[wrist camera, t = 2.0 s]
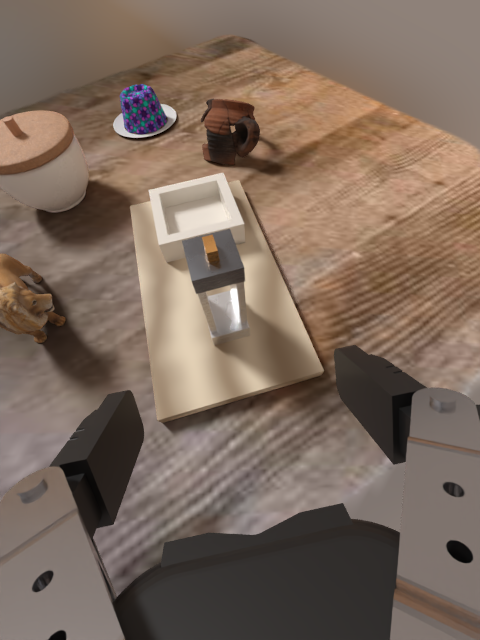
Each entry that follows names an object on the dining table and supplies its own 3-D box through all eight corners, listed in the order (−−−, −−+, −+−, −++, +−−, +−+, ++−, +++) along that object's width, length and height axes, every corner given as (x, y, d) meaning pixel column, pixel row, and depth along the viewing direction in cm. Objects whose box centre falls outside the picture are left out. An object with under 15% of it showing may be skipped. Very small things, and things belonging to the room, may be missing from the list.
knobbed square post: (214, 345, 28) (189, 276, 18) (204, 307, 30) (177, 226, 20) (250, 335, 29) (245, 262, 19) (237, 297, 31) (227, 214, 21)
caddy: (166, 262, 34) (158, 245, 31) (156, 209, 39) (148, 190, 36) (245, 242, 35) (244, 223, 32) (225, 192, 39) (223, 172, 37)
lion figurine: (94, 332, 32) (39, 286, 24) (52, 366, 30) (-22, 328, 22) (34, 267, 37) (-27, 211, 29) (-4, 292, 35) (-80, 240, 27)
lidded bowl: (119, 181, 45) (80, 101, 35) (65, 235, 39) (2, 158, 30) (61, 165, 48) (10, 87, 38) (4, 213, 43) (-71, 137, 33)
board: (162, 423, 26) (157, 420, 25) (134, 214, 41) (129, 205, 39) (320, 375, 28) (324, 370, 26) (239, 189, 42) (238, 180, 41)
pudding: (143, 102, 57) (133, 70, 53) (190, 115, 54) (183, 82, 49) (101, 132, 53) (86, 100, 48) (149, 148, 49) (138, 115, 44)
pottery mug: (189, 158, 47) (189, 96, 43) (231, 161, 53) (235, 107, 49) (235, 167, 40) (241, 95, 36) (278, 170, 46) (288, 108, 42)
